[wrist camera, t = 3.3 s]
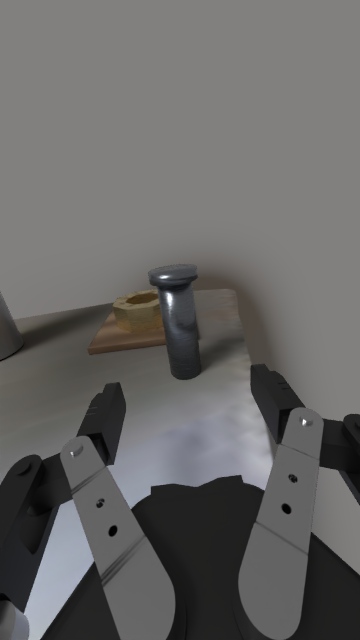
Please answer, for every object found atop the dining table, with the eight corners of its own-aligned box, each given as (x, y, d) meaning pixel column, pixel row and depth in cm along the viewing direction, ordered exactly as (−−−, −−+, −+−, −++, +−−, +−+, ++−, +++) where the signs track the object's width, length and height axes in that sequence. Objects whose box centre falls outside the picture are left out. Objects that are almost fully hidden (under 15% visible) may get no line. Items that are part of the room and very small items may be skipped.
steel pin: (185, 389, 24) (169, 277, 19) (158, 371, 27) (138, 273, 22) (214, 367, 26) (207, 265, 22) (186, 354, 30) (174, 263, 25)
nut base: (197, 340, 33) (194, 308, 31) (89, 354, 33) (79, 323, 31) (188, 303, 47) (185, 281, 45) (113, 313, 48) (107, 291, 46)
